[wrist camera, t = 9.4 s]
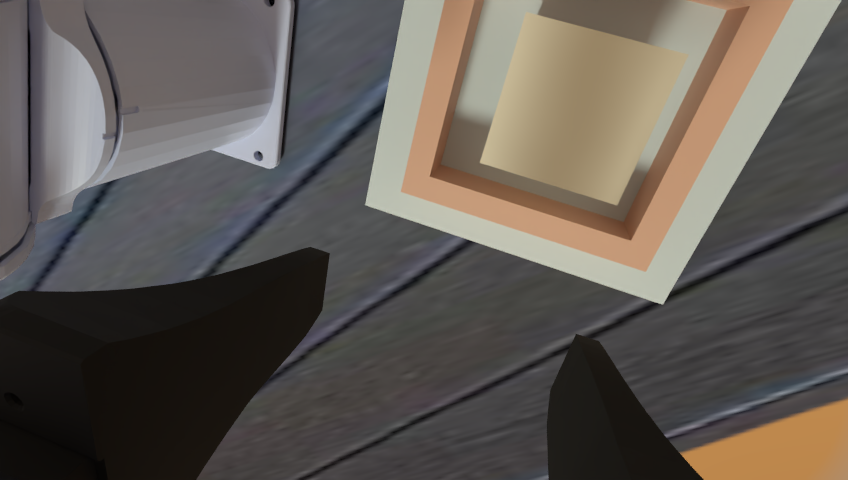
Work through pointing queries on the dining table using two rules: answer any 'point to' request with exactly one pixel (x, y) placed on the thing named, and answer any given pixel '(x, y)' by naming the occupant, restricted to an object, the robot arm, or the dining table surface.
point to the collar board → (658, 164)
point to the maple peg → (579, 106)
